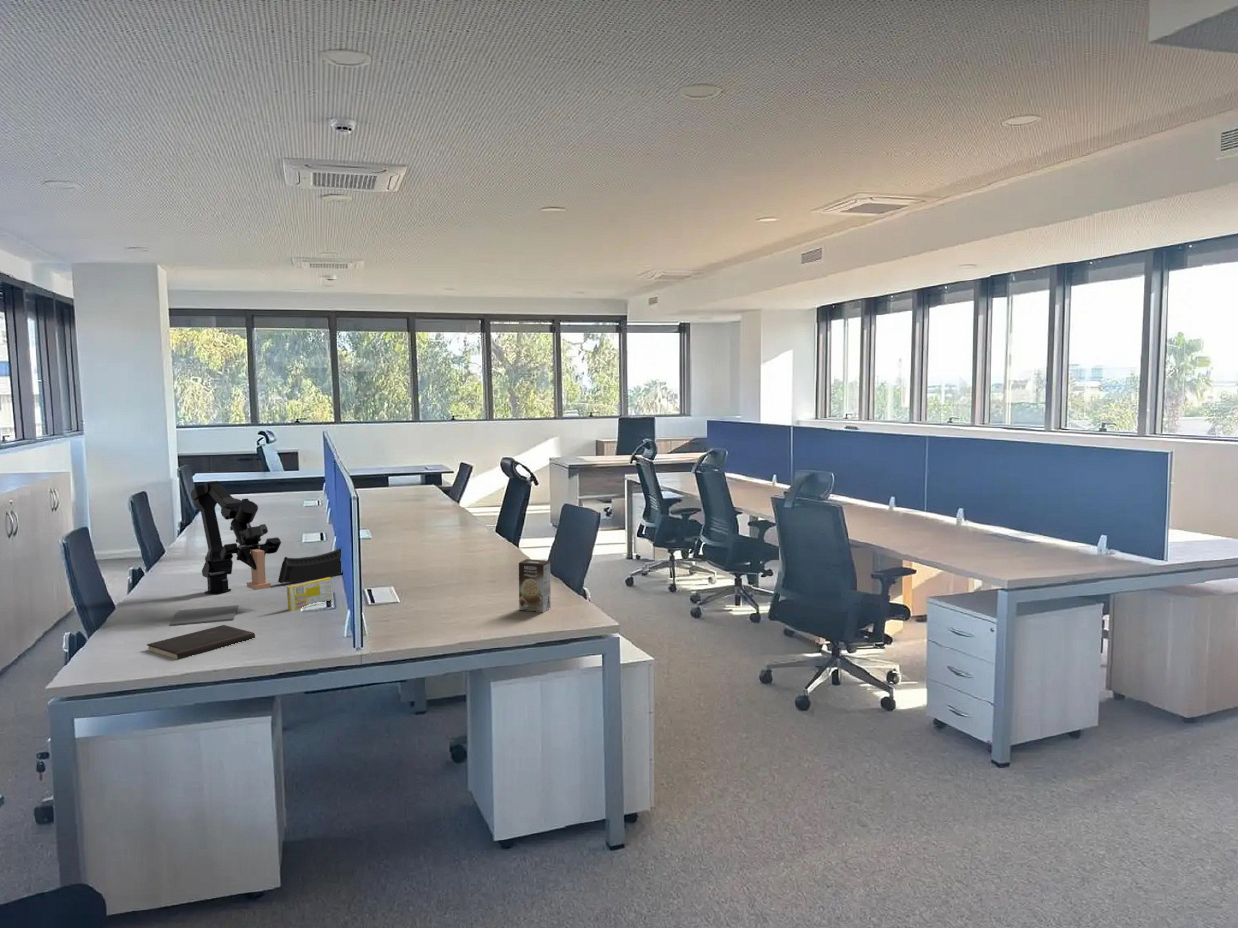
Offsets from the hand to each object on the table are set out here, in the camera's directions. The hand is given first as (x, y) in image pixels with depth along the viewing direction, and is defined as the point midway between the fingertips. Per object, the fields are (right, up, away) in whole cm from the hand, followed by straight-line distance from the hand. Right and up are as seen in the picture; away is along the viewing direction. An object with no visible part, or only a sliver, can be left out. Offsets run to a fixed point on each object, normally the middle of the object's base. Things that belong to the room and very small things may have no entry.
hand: (259, 568), depth 281 cm
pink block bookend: (-1, -7, +2) cm, 7 cm away
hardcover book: (0, -18, -39) cm, 43 cm away
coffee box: (+92, -13, -4) cm, 93 cm away
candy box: (+15, -13, +4) cm, 21 cm away
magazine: (+3, -10, +46) cm, 47 cm away
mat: (-14, -14, -8) cm, 22 cm away
